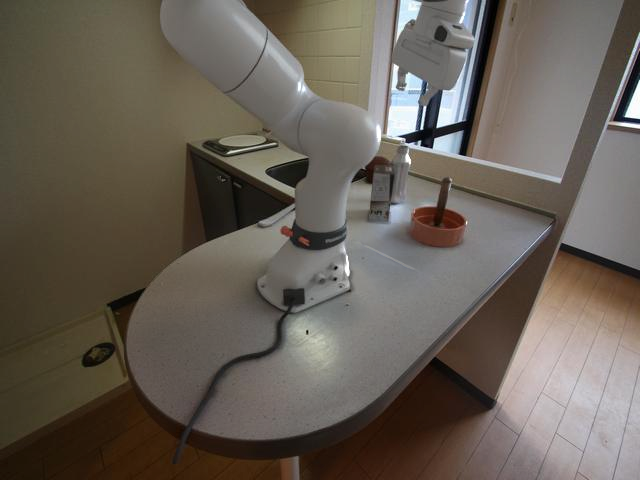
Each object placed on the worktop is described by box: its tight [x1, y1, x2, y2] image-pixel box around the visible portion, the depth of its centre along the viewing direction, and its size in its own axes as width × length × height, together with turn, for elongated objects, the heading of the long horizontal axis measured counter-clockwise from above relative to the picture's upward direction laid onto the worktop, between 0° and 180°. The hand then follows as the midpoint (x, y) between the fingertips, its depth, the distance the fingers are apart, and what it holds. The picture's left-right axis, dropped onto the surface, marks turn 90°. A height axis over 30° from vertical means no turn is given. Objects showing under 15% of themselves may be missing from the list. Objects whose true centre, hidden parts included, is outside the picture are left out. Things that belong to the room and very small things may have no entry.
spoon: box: [258, 202, 295, 228], centre depth 109 cm, size 35×8×3 cm, turn 144°
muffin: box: [364, 155, 392, 184], centre depth 132 cm, size 12×11×10 cm
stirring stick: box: [429, 176, 452, 229], centre depth 89 cm, size 4×4×17 cm
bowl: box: [408, 205, 468, 248], centre depth 93 cm, size 15×15×6 cm
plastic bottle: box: [390, 144, 412, 205], centre depth 110 cm, size 6×7×20 cm
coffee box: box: [368, 165, 395, 223], centre depth 100 cm, size 9×6×16 cm
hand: (410, 97), depth 74 cm, fingers open, 8 cm apart
